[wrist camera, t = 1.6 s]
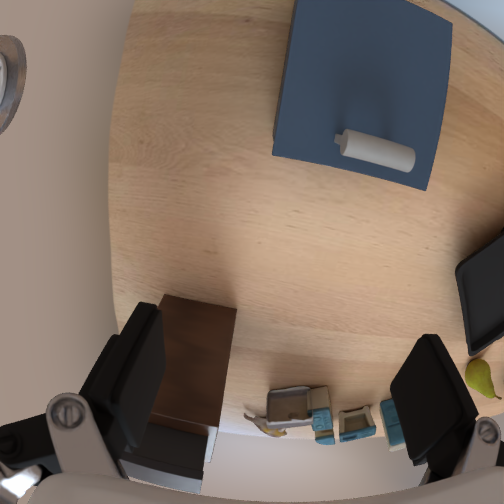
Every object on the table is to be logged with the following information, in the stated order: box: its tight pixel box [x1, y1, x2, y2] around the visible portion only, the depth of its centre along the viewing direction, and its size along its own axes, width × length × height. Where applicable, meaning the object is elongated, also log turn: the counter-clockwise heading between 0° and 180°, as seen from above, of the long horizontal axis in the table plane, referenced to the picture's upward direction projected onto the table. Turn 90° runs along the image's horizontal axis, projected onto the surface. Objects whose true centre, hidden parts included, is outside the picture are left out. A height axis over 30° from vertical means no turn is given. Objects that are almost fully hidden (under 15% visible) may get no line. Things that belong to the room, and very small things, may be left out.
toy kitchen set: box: [307, 386, 406, 452], centre depth 42 cm, size 18×14×11 cm
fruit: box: [465, 359, 502, 400], centre depth 38 cm, size 6×6×12 cm
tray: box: [455, 227, 504, 356], centre depth 33 cm, size 30×23×5 cm
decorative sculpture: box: [244, 386, 313, 437], centre depth 45 cm, size 16×10×7 cm, turn 167°
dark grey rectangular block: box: [119, 422, 208, 494], centre depth 23 cm, size 9×6×5 cm, turn 79°
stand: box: [148, 294, 237, 463], centre depth 33 cm, size 10×10×18 cm
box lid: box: [272, 0, 452, 191], centre depth 16 cm, size 16×14×5 cm
